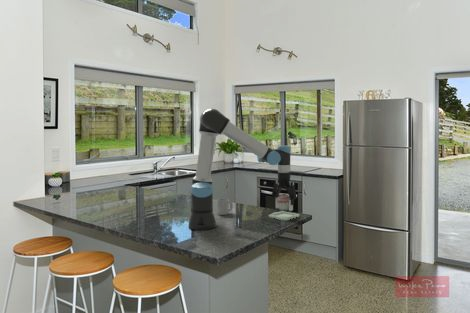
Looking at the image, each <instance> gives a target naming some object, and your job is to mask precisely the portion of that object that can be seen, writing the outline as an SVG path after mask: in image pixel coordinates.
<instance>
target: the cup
mask: <svg viewBox="0 0 470 313" xmlns="http://www.w3.org/2000/svg"><path fill="white" fill-rule="evenodd" d="M233 209H234V204H233V201H231V200H229V198H218V199H216V213H217V215H220V216H226V215H229V213H230V212H231V211H233Z"/></svg>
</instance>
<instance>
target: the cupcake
mask: <svg viewBox="0 0 470 313" xmlns="http://www.w3.org/2000/svg"><path fill="white" fill-rule="evenodd" d="M289 200H290V197H289V195H288V193H286V192H283V193H282V194H281V195H279V198H278V201H276V202H277V204H278V208H277V209H278V210H280V211H289ZM276 202H275V203H276Z"/></svg>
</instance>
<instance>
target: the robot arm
mask: <svg viewBox="0 0 470 313" xmlns="http://www.w3.org/2000/svg"><path fill="white" fill-rule="evenodd" d="M198 128H199V129H198V133H199V134H200V142H199V148H198V155H197V156H198V157H197V163H196V171H195V176H194V177H192V182H191V186H190V190H189V193H190V199H191V200H190V201H191V203H190V204H191V205H190V206H191V207H190V208H191V214H190V217H189V221H188V228H189V229H191V230H194V231H195V230H196V231H207V230H213V229H215V228H216V227H217V220H216V217H215V215H214V208H213V207H214V206H213V205H214V204H213V203H214V202H213V195H214V194H213V192H214V189H213V179H212V178H211V176H212V169H213V162H214V154H215V148H216V140H217V139H216V138H217V137H218V135H223V136H225V137H226V138H228V139H230V141H233V142H235V143H236V144H238V145H239V146H241V147H242V148H244V149H246V151H249V152H250V153H251V154H253V155H255V156H256V157H257V162H258V163H262V164H263V163H267V164H269V165H270V166H277V179H274V180H273V188H272V191H271V192H272V193H271V196H272V197H274V203H275V209H279V208H278V204H277V202H276V201H278V198H279V196H280V193H281V191H282V189H283V188H285V190H286V192H287V195H288V197H290V200H289V210H288V212H289V211H290V212H291V211H294V205H295V204H294V203H295V200H296V199H297V198H298V196H297V193H296V192H297V191H296V186H295V184H296V182H295V181H291V154H292V153H291V147H290V146H289V145H278V146H277V147H276V149H272V148H270V147H269V146H268V145H266V144H264V143H263V142H261V141H260V140H258V139H256V138H255V137H254V136H252V135H250V134H249V133H247V132H246V131H245V130H244V129H242V128H239V127H238V126H237V125H235V124H234V123H232V122H231V120H230V119H229V118H228V117H226V115H224V114H223V113H221V112H220V111H219V110H218V109H216V108H208V109H206V110H204V111H202V113H201V115H200V117H199V127H198Z"/></svg>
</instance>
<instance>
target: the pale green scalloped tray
mask: <svg viewBox="0 0 470 313" xmlns="http://www.w3.org/2000/svg"><path fill="white" fill-rule="evenodd" d="M296 217H297V218H299V217H300V214H298V213H295V212H294V213H293V212H289V211H288V212H287V211H285V210H280V211H278V212H277V211H275V212H272V213H271V214H270V213H269V214H268V218H270V219H274V218H275V219H276V220H280V221H285V222H288V221H290V219H291V220H294V219H297V218H296ZM293 218H294V219H293Z"/></svg>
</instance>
